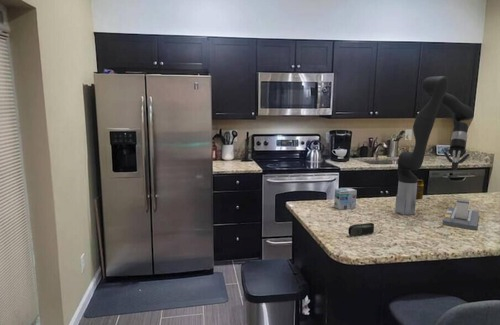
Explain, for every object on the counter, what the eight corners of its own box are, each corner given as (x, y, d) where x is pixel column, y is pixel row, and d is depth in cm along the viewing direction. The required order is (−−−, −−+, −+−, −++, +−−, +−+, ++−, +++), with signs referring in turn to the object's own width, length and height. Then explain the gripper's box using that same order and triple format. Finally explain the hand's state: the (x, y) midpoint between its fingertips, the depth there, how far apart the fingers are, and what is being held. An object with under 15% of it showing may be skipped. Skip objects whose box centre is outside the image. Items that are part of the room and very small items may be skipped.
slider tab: (455, 215, 176) (457, 198, 174) (467, 217, 173) (469, 200, 171) (455, 217, 172) (456, 200, 171) (467, 219, 169) (469, 202, 168)
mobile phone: (370, 221, 159) (345, 225, 153) (375, 223, 157) (350, 227, 150) (370, 231, 160) (344, 236, 154) (374, 234, 157) (349, 238, 151)
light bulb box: (339, 210, 193) (340, 191, 191) (333, 206, 199) (334, 188, 197) (356, 208, 195) (357, 190, 194) (349, 205, 202) (350, 187, 200)
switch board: (448, 210, 192) (448, 204, 191) (478, 215, 184) (479, 208, 183) (442, 224, 169) (442, 217, 168) (476, 230, 161) (477, 223, 160)
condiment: (424, 198, 218) (426, 179, 216) (419, 200, 212) (421, 181, 210) (413, 196, 223) (414, 178, 221) (407, 198, 217) (409, 180, 216)
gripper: (444, 137, 195) (440, 165, 191) (472, 138, 188) (468, 168, 184) (445, 142, 201) (441, 170, 197) (472, 144, 194) (468, 173, 190)
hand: (454, 169), depth 190 cm, fingers closed
